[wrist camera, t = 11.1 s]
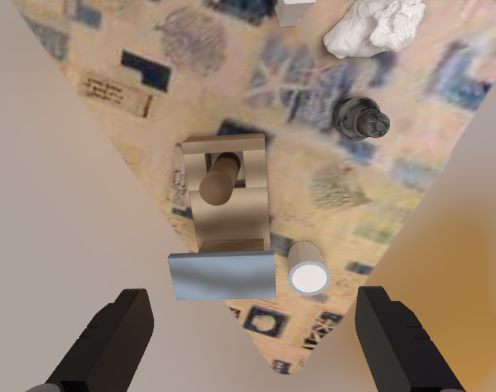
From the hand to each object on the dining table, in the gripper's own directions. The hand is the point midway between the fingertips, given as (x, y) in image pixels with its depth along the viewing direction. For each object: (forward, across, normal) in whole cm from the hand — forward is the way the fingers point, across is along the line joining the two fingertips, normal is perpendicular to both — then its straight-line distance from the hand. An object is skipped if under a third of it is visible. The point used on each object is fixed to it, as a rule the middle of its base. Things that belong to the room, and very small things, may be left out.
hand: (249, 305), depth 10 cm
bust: (+35, -14, -14) cm, 41 cm away
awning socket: (+35, +5, +8) cm, 36 cm away
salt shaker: (+35, -14, -3) cm, 38 cm away
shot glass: (+35, -7, +21) cm, 42 cm away
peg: (+34, +5, +4) cm, 35 cm away
